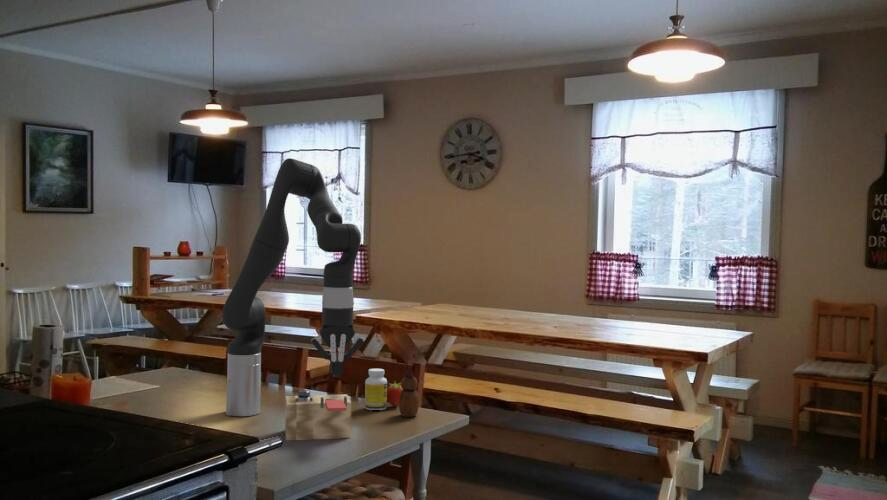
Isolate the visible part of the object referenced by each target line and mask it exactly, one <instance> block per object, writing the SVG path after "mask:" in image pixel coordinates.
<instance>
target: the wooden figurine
mask: <svg viewBox="0 0 887 500" xmlns="http://www.w3.org/2000/svg"><path fill="white" fill-rule="evenodd" d="M413 373H414V372H412V369H411V365H410V364H409V363H408V362H406V367H405V376H403V377H402V379H401V381H400V383H401V384H400V386H401V387H402V388H403V390H402V391H401V392H400V395H399V405H398V407H399V413H400V415H401V416H403V417H405V418H413V417H415V416H416V415H417V414H418V411H419V407H420V396H419V392H418V391H417V390H416V389H417V388H418V379H417V377H415V376H414V374H413Z"/></svg>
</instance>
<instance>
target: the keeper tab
mask: <svg viewBox="0 0 887 500" xmlns="http://www.w3.org/2000/svg"><path fill="white" fill-rule="evenodd" d="M325 404H326V407H327V410H328V411H347V407H346V405H345V403H344V401H343V400H342V399H326V400H325Z"/></svg>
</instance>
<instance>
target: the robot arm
mask: <svg viewBox="0 0 887 500" xmlns="http://www.w3.org/2000/svg"><path fill="white" fill-rule="evenodd" d="M276 174H277V175H276V177H275V180H274V183H273V186H272V190H271V192H270V193H271V194H270V195H269V200H268V203H267V206H266V209H265V211H264V214H263V216H262V219H261V221H260V224H259V225H258V228H257V230H256V233H255V236H254V238H253V240H252V242H251V245H250V248H249V251H248V253H247V254H248V255H247V256H246V259H245V261H244V263H243V266H242V267H241V271H240V273H239V275H238V277H237V279H236V281H235V283H234V285H233V288H232V289H231V291H230V293H229V295H228V297H227V298H226V301H224V302H225V303H224V305H223V308H222V313H221V315H222V316H221V317H222V322H223V325H224V326H225V327H226V328H227V329H229V330H232V331H237V334H236V336H235V337H234V338H233V339H232V340H231V341H230V342H229V343H228V345H227V370H226V371H227V375H226V377H227V378H226V379H227V380H226V404H225V405H226V411H225V413H226V414H225V416H232V417H249V416H250V417H251V416H256V415H259V414H260V413H261V382H262V381H261V378H262V376H261V375H262V373H261V371H262V369H261V368H262V366H261V365H262V346H263V344H264V341H265V335H266V334H265V332H266V317H267V316H266V308H265V304H264V302H263V301H262V300H261V298H259V297H258V296H257V294H258V292H259V290H260V288H261V287H262V286H263V285H264V283H265V282H266V281H267V279H269V277H271V276H272V275H273V273H274V272H275V271H276V270H277V269H278V268H279V265H280V264H281V262H282V261H283V258H284V257H285V253H286V251H287V248H288V246H289V242H290V235H289V229H288V226H287V225H288V224H287V221H286V215H285V213H286V212H285V209H286V202H287V199H288V195H289V194H290V195H294V196H298V197H301V198H306V199H308V200H309V202H308V204H307V215H308V217H309V219H310V221H311V223H312V224H313V226H314V228H315V231H316V242H317V246H318V248H319V249H320V250H322V251H323V252H325V253H342V254H341V256H340V257H339V259H338V260H336V261H332V262H328V263H326V264H325V265H324V266H323V267H324V268H323V289H322V290H323V291H322V296H321V297H322V302H321V304H322V305H321V306H322V307H321V312H322V313H321V328H320V329H319V330H320V331H319V334H318V335H317V336H315V337H312V338H311V340H310V341H311V343H312V345H313V346H314V347H315V349H316V350H317V352H318V353H319V354H320V355H321V356H322V357H323V358H324V360H327V361H330V373H331V375H332V376H333V377H334V378H341V375H343V373H344V361H347V360H349V359H351V358H352V357H353V355H354V354H355V353H356V352H357V350H358V349H359V348H360V347H361V345H362V344H363V343H364V339H363V338H362V337H361V336H360V337H359V335H357V334H356V331H355V329H354V304H355V302H354V301H355V300H354V289H353V288H354V287H353V285H354V282H353V281H354V269H355V263H356V260H357V256H358V253H359V249H360V247H361V241H362V235H361V231H360V229H359V227H358V226H357V225H356V224H353V223H343V217H342V215H341V213H340V212H339V210H338V209H337V207H336V206H335V204H334V203H333V201H332V199H331V197H330V195H329V192H328V188H327V185H326V183H325V179H324V177H323V175H322V172H321V171H320V169H319V168H318V167H317V166H315V165H313V164H311V163H307V162H305V161H301V160H298V159H294V158H290V157H289V158H285V160H283V162H282V163H281V165H280V166H279V168H278V171H277V173H276ZM322 340H323V341H324V343H325V344H326V345H327V347H329V353H328V352H327V351H326V350H325V348H323V346H322V344H323V341H322ZM351 341H352V342H351ZM350 342H351V343H352V344H351V346H350V347H349V349H348V350H347V351H346V352H345V348H346V347H347V346H348V345H349V343H350Z"/></svg>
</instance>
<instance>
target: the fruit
mask: <svg viewBox="0 0 887 500" xmlns="http://www.w3.org/2000/svg"><path fill="white" fill-rule="evenodd" d="M388 384H389V386H387V401H388V403H389V404H390V405H391V406H393V407H395V408H397V407H399V395H400V392H401V391H402V390H403V388H402V387H401V382H399V383H397V382H396V381H394V383H389V382H388Z"/></svg>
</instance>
